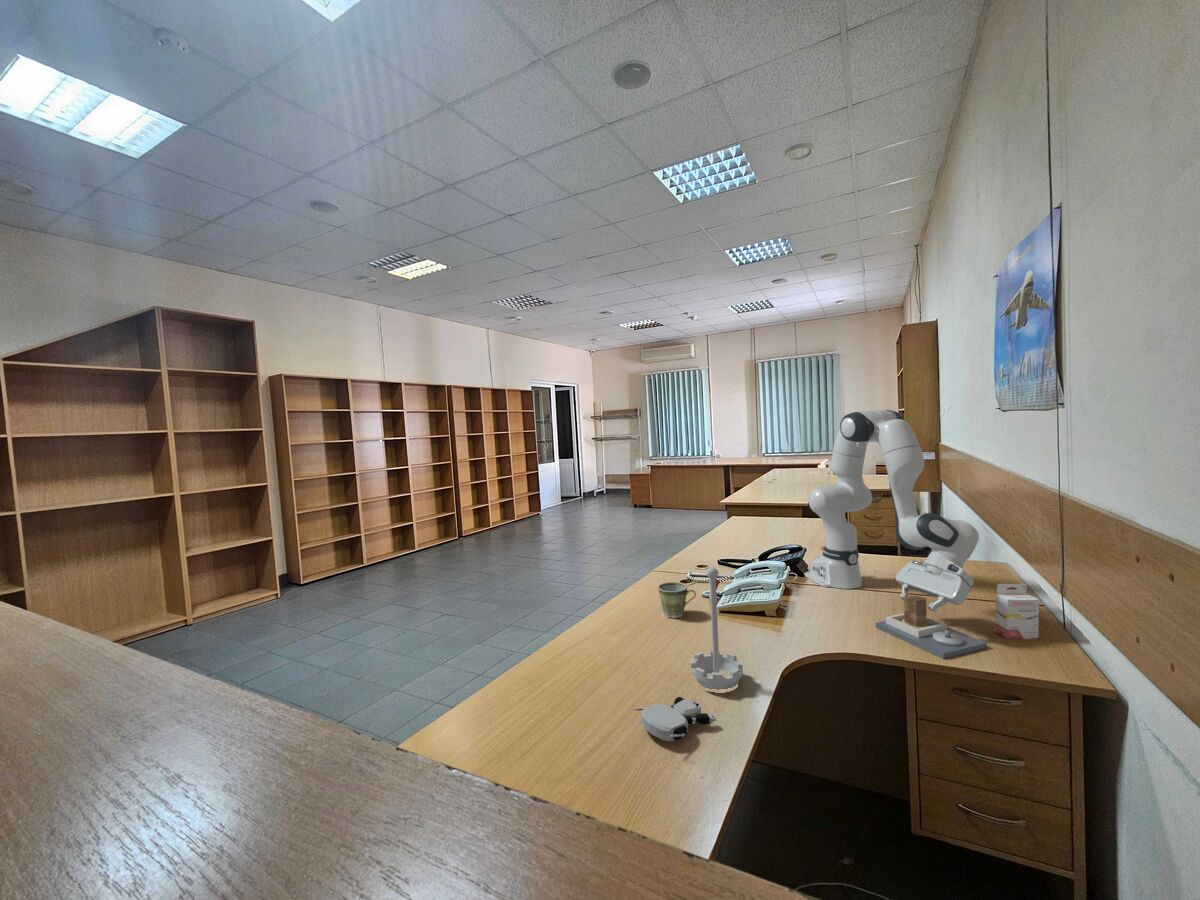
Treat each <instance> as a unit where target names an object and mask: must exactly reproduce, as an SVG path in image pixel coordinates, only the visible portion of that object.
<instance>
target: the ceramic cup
mask: <svg viewBox="0 0 1200 900" xmlns="http://www.w3.org/2000/svg"><path fill="white" fill-rule="evenodd" d="M657 588H658V589H657V590H658V594H659V598H660V603H661V608H662V613H663V615H664V617H666V616H667V617H666V618H668V617H672V618H671V619H675V618H676V619H678V618H677V617H680V618H683V616H684V615H685V607H686V605H688V604H689V603H690V602H691V601H692V600H694V599H695V597H697V593H696V591H695V590H694V589H688V586H687V584H684V583H683V582H677V581H676V582H675V581H668V582H663V583H661V584H659V585H658V587H657ZM689 593H693V594H694V596H693V597H691V598H689V599H688V601H686V598H687V596H688V594H689ZM683 614H684V615H683Z"/></svg>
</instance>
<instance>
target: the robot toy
mask: <svg viewBox="0 0 1200 900" xmlns="http://www.w3.org/2000/svg"><path fill="white" fill-rule="evenodd" d="M633 711H636V712H637V711H641V715H640V716H641V724H642V726H643V728H645V729H646V731H647V732H648V733H649V734H650V735H652V736H654V737H656V738H658V739H660V740H661V741H666V742H670V741H671V742H672V743H673V742H675V741H678V740H680V739H682V738H685V737H686V736H687V734H688V729H689V725H688V724H692V723H693V722H696V723H697V724H700V725H709V724H710V722H712V723H713V722H716V720H717V718H716V717H715V715H713V714H708V713H706V712H705V713H704V712H703V713H702V706H701V704H699V703H696V701H694V700H689V699H688V700H687V698H686V697H683V696H682V695H681V696H680V695H679V696H676V698H675V699H674V701H673V704H672V705H671V706H670V705H667V704H664V703H654V704H650V705H648V706H645V707H643V708H641V707H640V708H633Z"/></svg>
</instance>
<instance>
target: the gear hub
mask: <svg viewBox="0 0 1200 900" xmlns="http://www.w3.org/2000/svg"><path fill="white" fill-rule="evenodd" d="M903 605H904V606H903V611H904V612H903V613H904V619H903V620H902V622H903V623H905V624H907V625H910V626H912V627H914V628H917V629H920V628H924V627H928V626H929V624H928V623H927V617H928V616H927V598H925V597H922V596H919V595H917V594H912V595H911V594H910V595H908V596H905V597H904V600H903ZM926 616H927V617H926Z"/></svg>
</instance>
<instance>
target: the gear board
mask: <svg viewBox="0 0 1200 900" xmlns="http://www.w3.org/2000/svg"><path fill="white" fill-rule="evenodd" d="M926 617H927V623H928V624H929V626H928V627H924V628H920V629H917V628H914V627H912V626H910V625H907V624H905V623H903V622H902V620H903V619H904V612H903V613H900V614H899V613H898V614H893V615H890V616H885V620H883V621H877V622H875V628H876V629H878V628H879V629H878V630H880V629H881V630H880V631H882V630H883V632H884V631H885V632H884V633H886V632H887V633H886V634H888V633H889V634H888V635H891V636H893V637H895V638H898V639H899V640H901V639H902V641H903V640H904V641H903V642H906V643H909V644H910V645H912V646H914V647H917V648H919V649H921V650H923V651H925V652H928V653H930V654H932V655H934V656H936V657H938V658H940V659H942V660H946V659H950V658H953V657H958V656H962V655H965V654H969V653H972V652H975V651H976V652H977V651H981V650H984V649H987V645H988V643H987V642H986V641H983V640H981V639H978V638H975V637H973V636H970V635H967V634H965V633H963V632H961V631H958V630H956V629H953V628H950V627H948V624H946V623H944V622H942V621H939V620H936V619H935V618H931V617H929V616H927V615H926Z"/></svg>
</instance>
